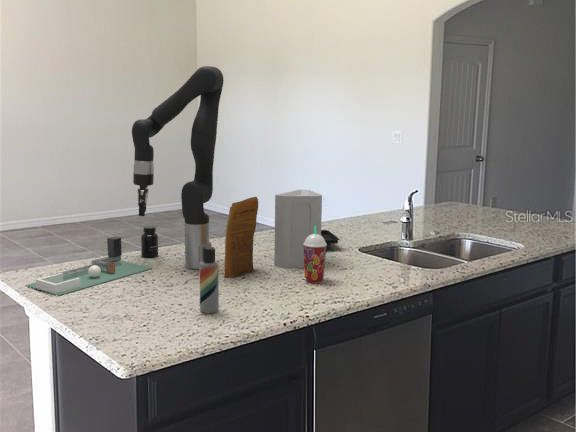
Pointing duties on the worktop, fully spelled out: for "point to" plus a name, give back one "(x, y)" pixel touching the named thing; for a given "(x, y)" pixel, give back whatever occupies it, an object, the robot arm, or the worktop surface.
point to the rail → (81, 271)
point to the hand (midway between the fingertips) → (142, 213)
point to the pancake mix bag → (240, 237)
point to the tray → (329, 237)
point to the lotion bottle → (209, 282)
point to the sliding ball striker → (110, 255)
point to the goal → (57, 283)
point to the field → (102, 277)
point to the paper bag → (295, 225)
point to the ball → (94, 271)
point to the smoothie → (314, 257)
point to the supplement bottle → (149, 242)
